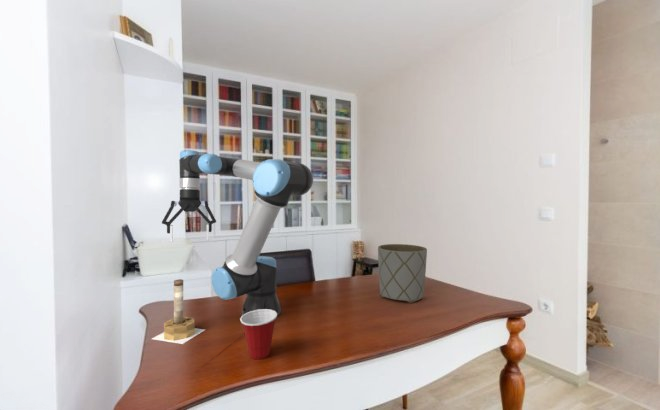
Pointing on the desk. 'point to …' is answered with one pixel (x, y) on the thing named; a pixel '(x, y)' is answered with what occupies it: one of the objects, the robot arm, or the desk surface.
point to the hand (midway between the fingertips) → (189, 240)
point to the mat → (181, 341)
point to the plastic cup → (259, 331)
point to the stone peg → (178, 302)
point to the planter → (402, 271)
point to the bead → (179, 329)
